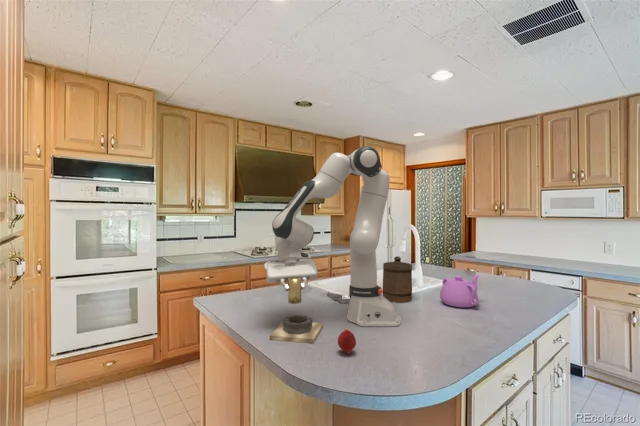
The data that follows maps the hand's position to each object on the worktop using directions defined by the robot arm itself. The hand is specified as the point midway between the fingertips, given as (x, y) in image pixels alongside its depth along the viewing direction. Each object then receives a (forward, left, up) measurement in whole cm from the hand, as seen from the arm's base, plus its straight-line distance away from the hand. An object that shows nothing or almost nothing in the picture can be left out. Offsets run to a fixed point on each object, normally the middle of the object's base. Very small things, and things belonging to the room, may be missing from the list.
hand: (295, 289), depth 122 cm
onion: (-21, +14, -16) cm, 30 cm away
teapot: (-70, -52, -16) cm, 89 cm away
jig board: (-1, +1, -16) cm, 16 cm away
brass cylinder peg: (0, -1, -5) cm, 5 cm away
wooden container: (-39, -55, -16) cm, 69 cm away
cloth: (-11, -48, -17) cm, 52 cm away
